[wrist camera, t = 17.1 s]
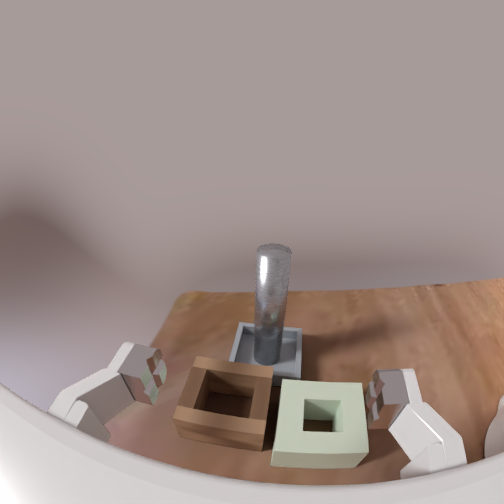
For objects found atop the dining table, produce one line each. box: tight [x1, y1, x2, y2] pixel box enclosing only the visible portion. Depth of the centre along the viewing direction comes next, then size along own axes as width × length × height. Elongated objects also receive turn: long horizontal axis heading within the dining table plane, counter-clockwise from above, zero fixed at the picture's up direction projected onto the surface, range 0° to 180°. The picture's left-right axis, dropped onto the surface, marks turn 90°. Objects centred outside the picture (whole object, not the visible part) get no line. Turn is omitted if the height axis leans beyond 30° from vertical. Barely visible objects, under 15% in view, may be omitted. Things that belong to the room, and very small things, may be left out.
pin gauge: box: [253, 244, 292, 366], centre depth 30 cm, size 3×3×14 cm
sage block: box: [270, 379, 369, 469], centre depth 23 cm, size 8×8×4 cm
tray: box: [229, 322, 302, 386], centre depth 33 cm, size 8×8×2 cm
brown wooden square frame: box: [173, 356, 274, 452], centre depth 25 cm, size 8×8×4 cm
